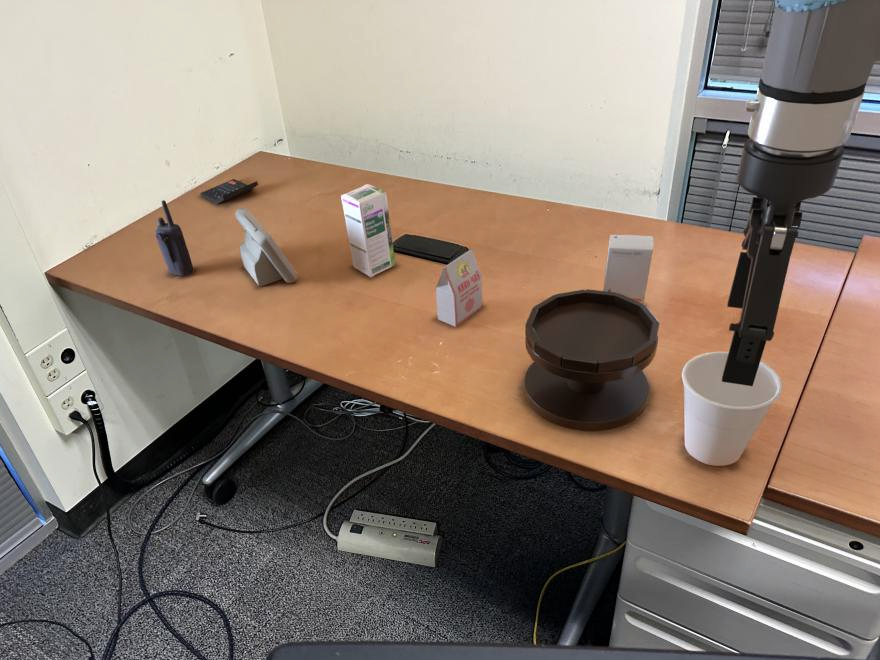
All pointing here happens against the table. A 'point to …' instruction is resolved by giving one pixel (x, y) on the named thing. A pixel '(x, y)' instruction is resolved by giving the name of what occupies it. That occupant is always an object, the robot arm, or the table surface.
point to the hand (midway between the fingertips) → (739, 342)
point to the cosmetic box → (628, 265)
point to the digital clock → (262, 253)
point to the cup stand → (589, 359)
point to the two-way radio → (173, 245)
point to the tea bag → (459, 290)
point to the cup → (723, 408)
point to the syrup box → (369, 229)
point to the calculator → (227, 191)
